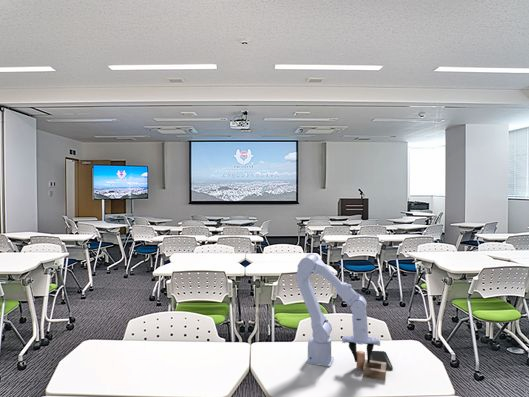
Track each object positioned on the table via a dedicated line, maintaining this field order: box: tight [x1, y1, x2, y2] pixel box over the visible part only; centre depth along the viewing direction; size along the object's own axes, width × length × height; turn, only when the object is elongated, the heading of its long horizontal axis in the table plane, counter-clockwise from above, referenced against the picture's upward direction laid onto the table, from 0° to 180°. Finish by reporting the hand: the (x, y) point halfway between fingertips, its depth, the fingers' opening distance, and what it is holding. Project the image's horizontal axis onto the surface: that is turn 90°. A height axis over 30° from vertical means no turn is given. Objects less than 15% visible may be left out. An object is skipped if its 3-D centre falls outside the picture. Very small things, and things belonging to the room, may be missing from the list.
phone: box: [370, 350, 394, 371], centre depth 152 cm, size 8×1×15 cm
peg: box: [356, 350, 366, 370], centre depth 147 cm, size 3×3×6 cm
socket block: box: [362, 358, 387, 381], centre depth 142 cm, size 8×8×3 cm
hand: (362, 361), depth 147 cm, fingers open, 4 cm apart
